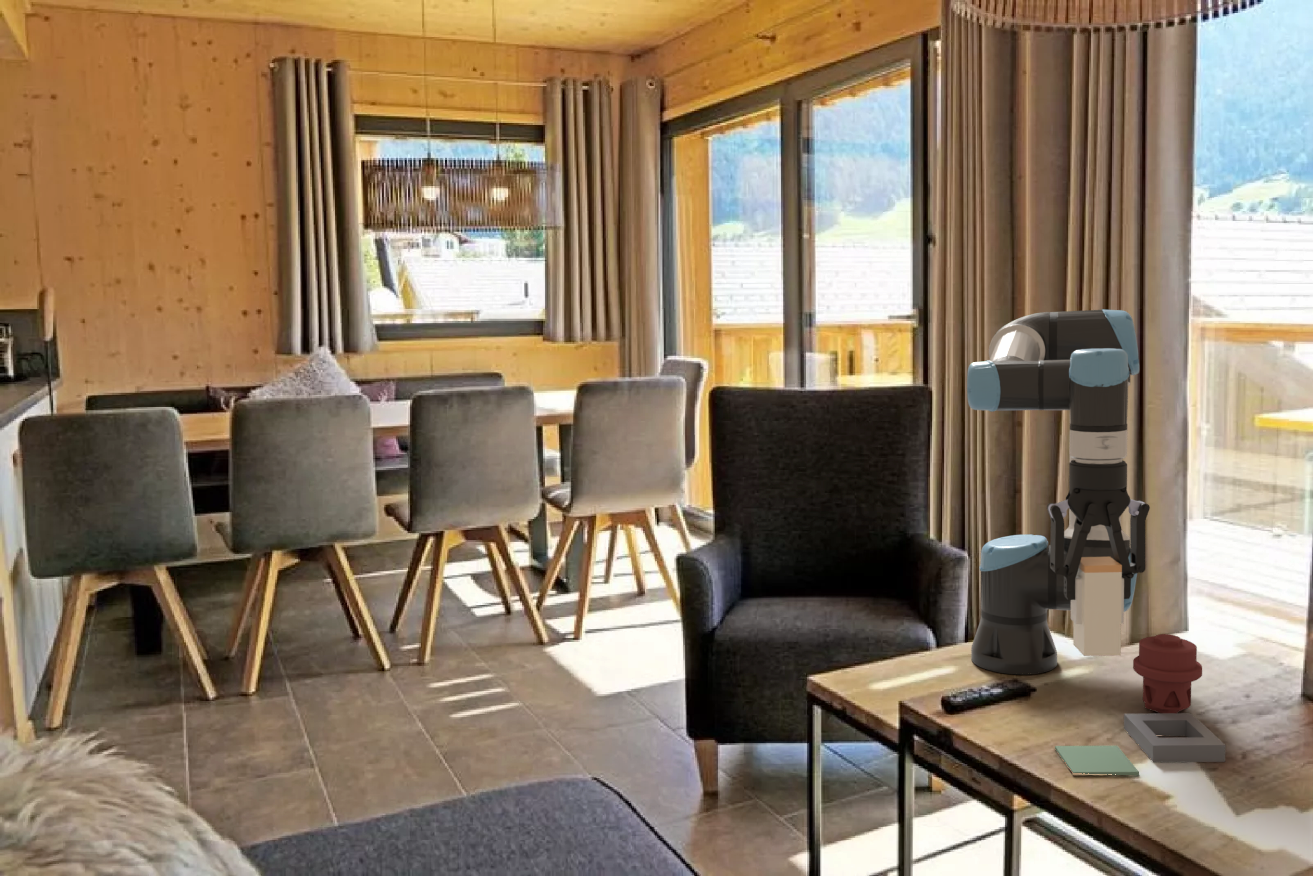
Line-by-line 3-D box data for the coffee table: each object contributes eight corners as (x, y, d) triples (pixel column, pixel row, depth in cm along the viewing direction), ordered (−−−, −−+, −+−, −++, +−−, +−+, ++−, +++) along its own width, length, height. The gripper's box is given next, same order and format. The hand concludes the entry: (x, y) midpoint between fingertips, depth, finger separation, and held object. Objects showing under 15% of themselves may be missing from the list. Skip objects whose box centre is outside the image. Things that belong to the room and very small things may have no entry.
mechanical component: (1191, 701, 176) (1209, 725, 167) (1126, 699, 178) (1140, 722, 169) (1192, 628, 175) (1211, 648, 165) (1127, 627, 177) (1141, 646, 167)
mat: (1054, 749, 160) (1054, 746, 160) (1117, 749, 159) (1117, 745, 159) (1073, 776, 151) (1073, 772, 151) (1139, 775, 150) (1139, 771, 150)
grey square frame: (1123, 729, 166) (1124, 713, 166) (1190, 728, 166) (1191, 713, 165) (1152, 762, 155) (1153, 745, 154) (1225, 761, 154) (1225, 745, 153)
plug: (1073, 644, 156) (1073, 557, 154) (1108, 644, 155) (1109, 556, 154) (1084, 656, 151) (1084, 565, 149) (1120, 655, 150) (1121, 565, 149)
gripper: (1039, 465, 147) (1038, 630, 150) (1175, 461, 145) (1172, 628, 148) (1024, 457, 154) (1025, 614, 157) (1154, 453, 153) (1152, 612, 156)
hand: (1096, 620), depth 153 cm, fingers closed on plug, 5 cm apart
